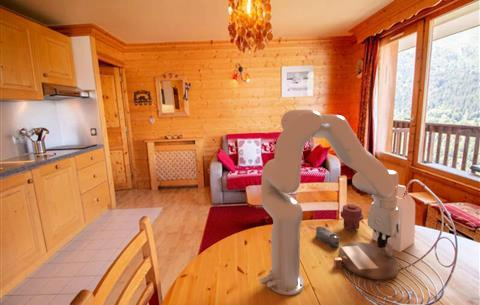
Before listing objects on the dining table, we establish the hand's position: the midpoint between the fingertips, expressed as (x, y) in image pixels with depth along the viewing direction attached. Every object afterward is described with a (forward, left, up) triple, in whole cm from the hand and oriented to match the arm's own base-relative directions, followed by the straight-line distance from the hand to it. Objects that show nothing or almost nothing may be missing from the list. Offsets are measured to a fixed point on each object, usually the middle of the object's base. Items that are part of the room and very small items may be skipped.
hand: (381, 246), depth 95 cm
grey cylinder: (-9, +20, -5) cm, 22 cm away
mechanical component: (+9, +22, -5) cm, 24 cm away
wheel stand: (-13, +2, -5) cm, 14 cm away
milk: (+16, +6, -5) cm, 18 cm away
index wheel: (-8, +1, -4) cm, 9 cm away
